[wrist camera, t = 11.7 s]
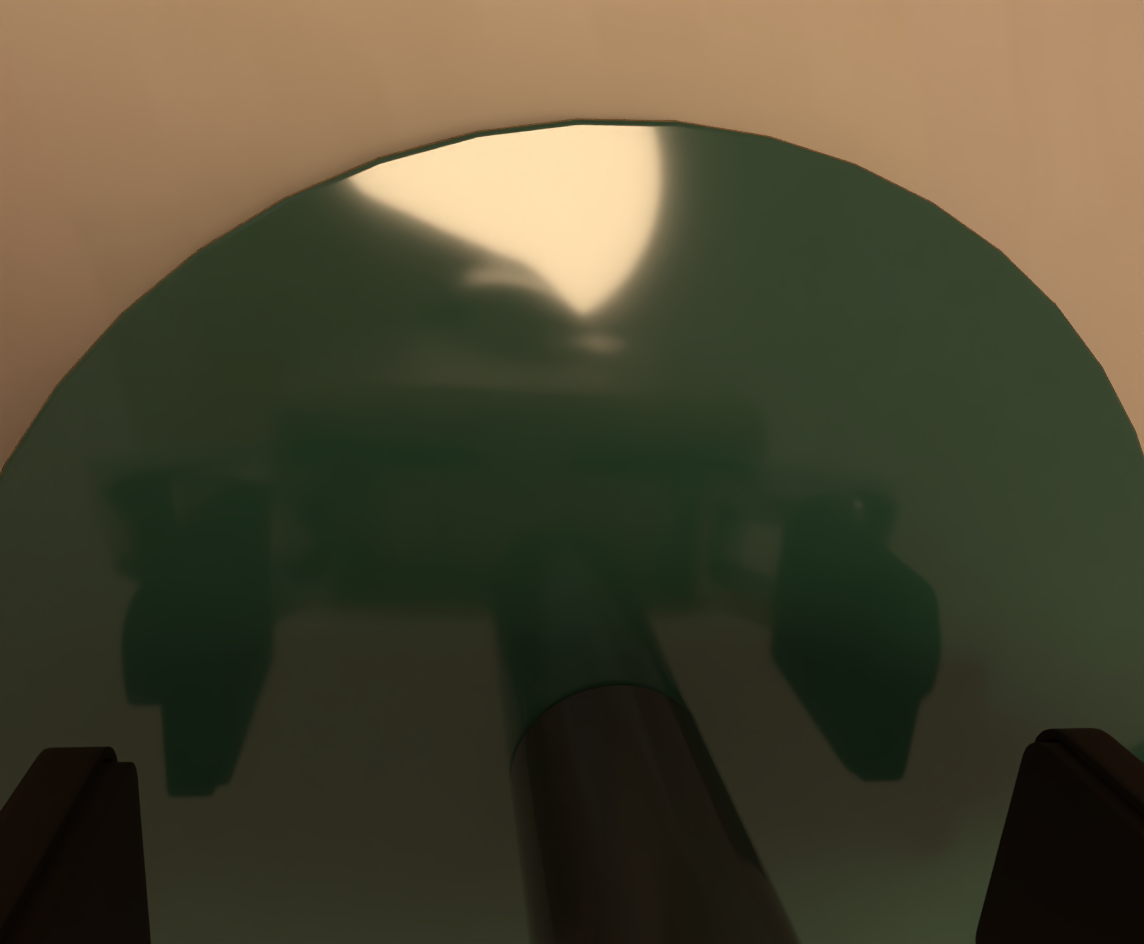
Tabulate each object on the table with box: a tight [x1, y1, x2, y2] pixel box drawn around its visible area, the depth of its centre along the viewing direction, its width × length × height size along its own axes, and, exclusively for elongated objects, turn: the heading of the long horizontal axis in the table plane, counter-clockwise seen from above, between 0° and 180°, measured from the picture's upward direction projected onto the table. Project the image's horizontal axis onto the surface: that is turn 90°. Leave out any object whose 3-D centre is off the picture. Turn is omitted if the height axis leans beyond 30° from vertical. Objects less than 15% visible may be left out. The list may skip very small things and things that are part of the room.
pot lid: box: [0, 119, 1144, 944], centre depth 9 cm, size 15×15×6 cm
